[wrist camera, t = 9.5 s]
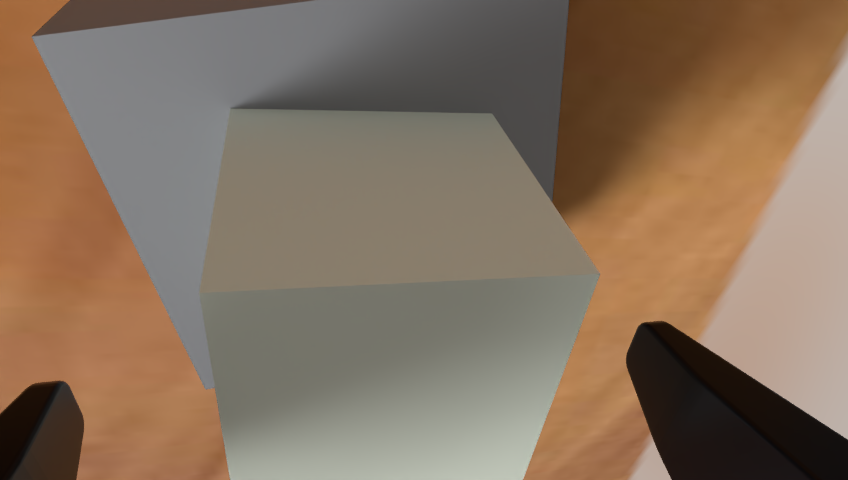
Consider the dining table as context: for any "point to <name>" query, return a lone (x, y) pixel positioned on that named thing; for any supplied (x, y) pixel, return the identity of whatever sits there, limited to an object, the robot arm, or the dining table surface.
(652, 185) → the dining table surface
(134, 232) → the gray square block
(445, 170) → the sage cube
